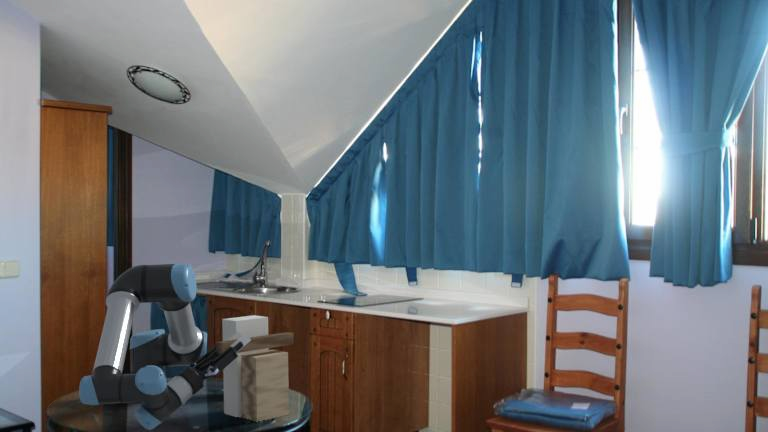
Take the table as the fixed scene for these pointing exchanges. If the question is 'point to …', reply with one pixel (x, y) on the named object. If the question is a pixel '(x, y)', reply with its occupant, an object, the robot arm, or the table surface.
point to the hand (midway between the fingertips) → (244, 336)
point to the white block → (239, 358)
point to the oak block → (265, 385)
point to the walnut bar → (259, 342)
